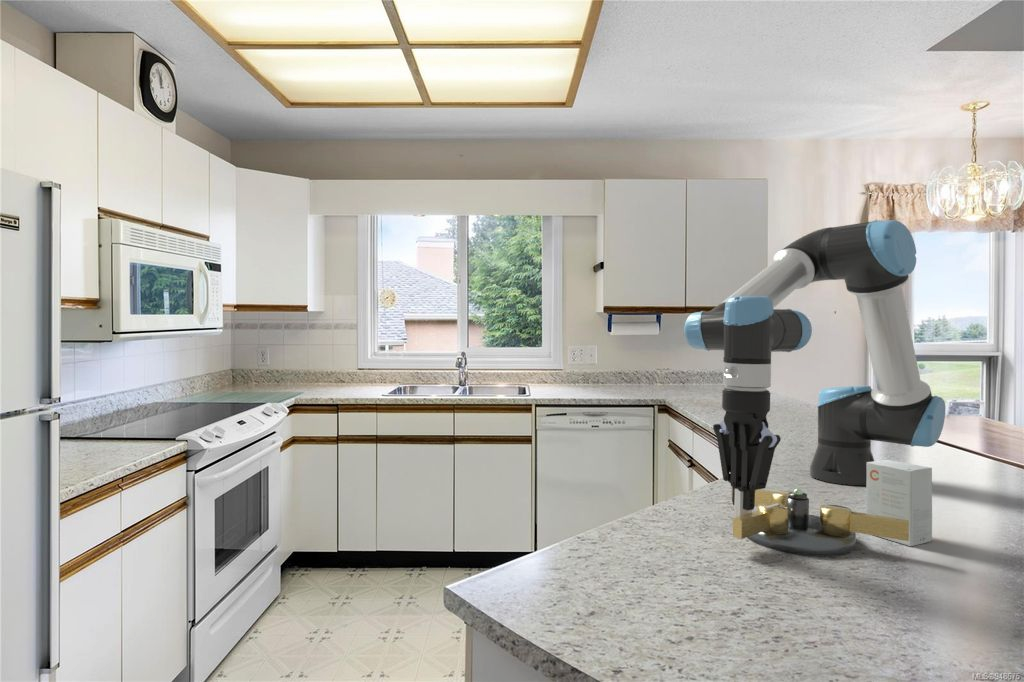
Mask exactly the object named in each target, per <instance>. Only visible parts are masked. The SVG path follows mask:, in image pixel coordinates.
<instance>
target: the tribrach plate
mask: <svg viewBox="0 0 1024 682" xmlns="http://www.w3.org/2000/svg"><path fill="white" fill-rule="evenodd" d="M787 507H788V533H786V534H770V533H766V532H761V533H758V534H755V535H752V536H749V537H746V538H747V539H748V540H750V541H751V542H753V543H755V544H757V545H760V546H763V547H765V548H768V549H772V550H775V551H777V552H784V553H788V554H794V555H801V556H809V557H810V556H812V557H833V556H834V557H835V556H841V555H846V554H849V553H852V552H853V551H854V550H855V549H856V545H857V544H856V543H857V542H856V541H857V539H856V538H857V534H856V532H852V534H851V535H850V536H834V535H829V534H826V533H823V532H821V531H820V515H819V516H818V515H814V514H810V498H808V494H807V493H804V492H803V491H802V490H801V489H800V488H794V489H793V490H792V491H790V492H789V493H788V496H787Z"/></svg>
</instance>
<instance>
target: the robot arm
mask: <svg viewBox="0 0 1024 682" xmlns="http://www.w3.org/2000/svg"><path fill="white" fill-rule="evenodd" d="M916 255H917V247H916V243H915V240H914V237H913V235H912V233H911V231H910V230H909V228H908V227H907V226H906V225H905V224H904V223H902V222H901V221H899V220H896V219H889V220H888V219H887V220H878V219H877V220H873V221H872V220H871V221H867V222H860V223H859V222H858V223H853V224H847V225H846V224H845V225H840V226H834V227H833V226H832V227H831V226H830V227H823V228H820V229H817V230H814V231H812V232H809V233H807V234H806V235H803V236H802V237H799V238H798V239H796V240H795V241H793V242H791V243H790V244H788V245H786V246H785V247H784V248H782V249H781V250H779V251H778V252H777V253H775V255H774V256H773V257H772V261H771V263H770V264H769V265H767V266H766V267H765V268H764V269H763V270H761V271H760V272H759V273H757V275H755V276H754V277H752V278H751V279H750V280H749V281H746V283H745V284H744V285H742V286H741V287H740V288H738V289H737V290H736V291H734V292H733V293H732V294H731V295H729V296H728V297H726V299H724V300H723V301H722V302H721V303H719V304H718V305H716V306H715V307H714V308H712V309H711V310H709V311H706V310H701V311H697V312H692V313H690V315H688V316H687V319H686V320H685V323H684V329H683V331H684V332H683V333H684V336H685V341H686V342H687V344H688V345H689V347H692V349H696V350H706V351H709V352H710V351H723V360H722V361H723V362H722V363H723V366H722V372H723V373H722V384H723V386H726V387H725V388H723V390H722V391H721V392H722V394H721V395H722V396H721V401H722V402H721V408H722V410H723V411H725V414H724V416H723V421H722V422H720V423H716V424H713V426H712V429H713V431H714V435H715V437H716V439H717V440H716V441H717V446H718V453H719V460H720V467H721V474H722V479H723V481H725V482H728V483H729V484H730V487H731V488H732V487H733V491H732V490H731V502H732V505H733V507H734V509H733V511H734V512H733V513H734V514H733V518H735V517H738V516H742V515H745V514H748V513H752V512H753V510H754V509H755V507H756V506H755V504H754V503H755V491H756V490H757V489H762V490H765V489H766V486H767V485H768V484H767V483H768V479H769V475H770V471H771V466H772V463H773V458H774V454H775V451H776V448H777V447H778V445H779V443H780V442H781V439H782V438H781V436H780V435H779V434H773V432H772V431H771V430H770V429H769V422H768V420H767V419H768V418H767V415H768V413H769V412H770V410H771V392H770V391H769V390H768V388H770V387H771V385H772V384H771V382H772V380H771V379H772V377H771V376H772V374H771V373H772V365H771V364H772V353H773V352H775V353H777V352H779V353H780V352H781V353H791V352H793V351H798V350H800V349H802V348H804V347H805V346H806V345H807V344H808V343H809V342H810V340H811V337H812V334H813V333H812V331H813V327H812V324H811V321H810V319H809V318H808V317H807V315H806V314H804V313H802V312H801V311H799V310H794V309H791V308H787V309H785V308H784V309H781V308H780V309H779V308H778V309H777V308H776V306H778V305H779V304H780V303H781V302H782V301H784V300H785V299H786V298H788V296H790V295H791V294H792V293H793V292H795V290H801V289H803V288H806V287H807V286H808V285H810V284H811V283H814V282H821V281H823V282H824V281H837V280H838V281H840V280H844V283H845V287H846V291H847V292H848V293H851V294H852V295H855V296H856V300H857V305H858V309H859V313H860V318H861V322H862V326H863V331H864V337H865V341H866V344H867V349H868V353H869V358H870V362H871V367H872V370H873V376H874V380H875V384H876V385H875V386H874V387H873V388H872V386H870V385H851V386H839V387H837V386H836V387H828V388H827V387H826V388H823V389H821V390H820V391H819V393H818V397H817V398H818V401H817V446H816V450H815V453H814V455H813V458H812V461H811V463H810V467H809V476H810V475H811V476H812V477H811V476H810V477H811V478H813V477H814V479H815V478H816V480H818V479H819V481H823V482H827V483H832V484H837V485H846V484H847V485H848V486H866V482H867V462H873V461H875V458H874V455H873V453H872V447H871V443H872V441H874V442H876V441H877V442H882V443H889V444H899V445H906V446H910V447H924V448H928V447H930V448H931V447H932V446H934V445H935V444H937V442H938V440H939V439H940V437H941V435H942V432H943V429H944V424H945V419H946V402H945V400H944V399H943V397H941V396H938V395H934V396H933V394H932V390H931V386H930V385H929V384H928V383H927V382H925V381H923V380H921V376H920V371H919V367H918V365H919V364H918V361H917V357H916V356H917V355H916V351H915V347H914V342H913V335H912V331H911V326H910V321H909V315H908V311H907V305H906V301H905V296H904V290H903V286H904V285H905V284H906V283H907V282H908V280H909V277H910V276H909V275H910V274H911V273H913V271H914V270H915V267H916V264H917V257H916ZM774 308H775V309H774ZM847 485H846V486H847ZM732 498H733V499H732Z"/></svg>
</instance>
